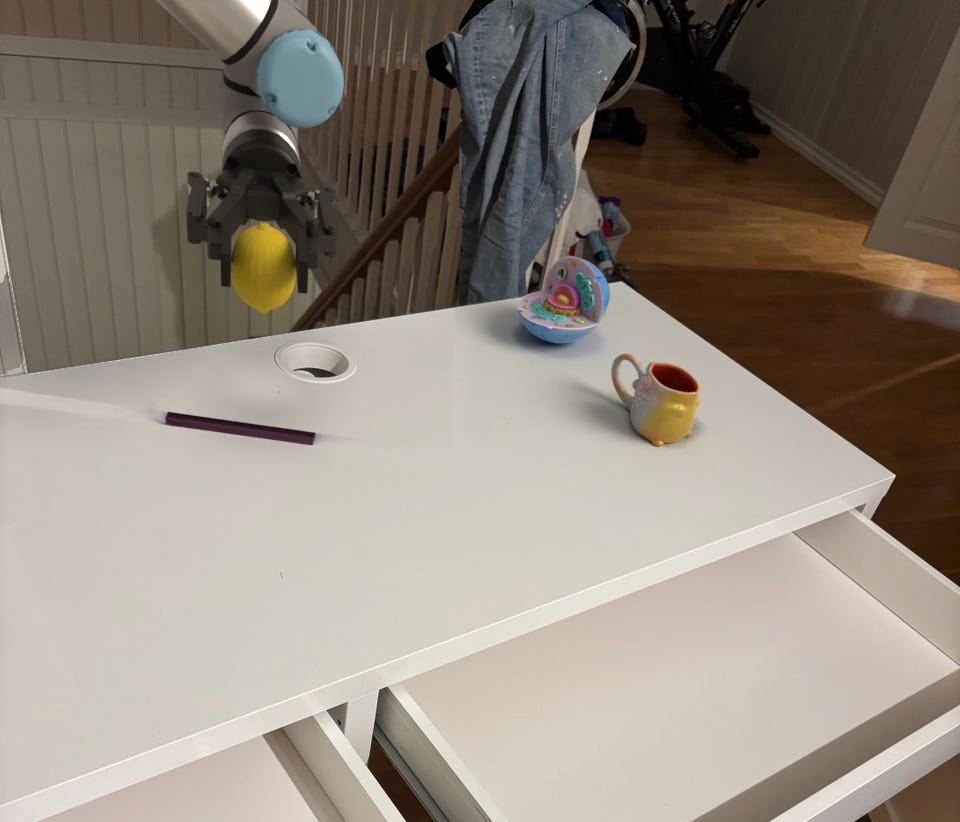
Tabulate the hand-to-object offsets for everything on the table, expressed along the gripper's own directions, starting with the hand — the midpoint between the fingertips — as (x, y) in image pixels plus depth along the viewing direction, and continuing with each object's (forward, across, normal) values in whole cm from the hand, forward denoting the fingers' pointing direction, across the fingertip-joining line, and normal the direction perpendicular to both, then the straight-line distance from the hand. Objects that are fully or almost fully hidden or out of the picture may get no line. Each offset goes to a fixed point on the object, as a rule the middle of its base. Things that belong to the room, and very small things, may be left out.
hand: (264, 273), depth 79 cm
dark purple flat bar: (-6, +2, -18) cm, 19 cm away
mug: (-11, -42, -18) cm, 47 cm away
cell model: (-29, -36, -18) cm, 49 cm away
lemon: (-5, 0, -6) cm, 8 cm away
